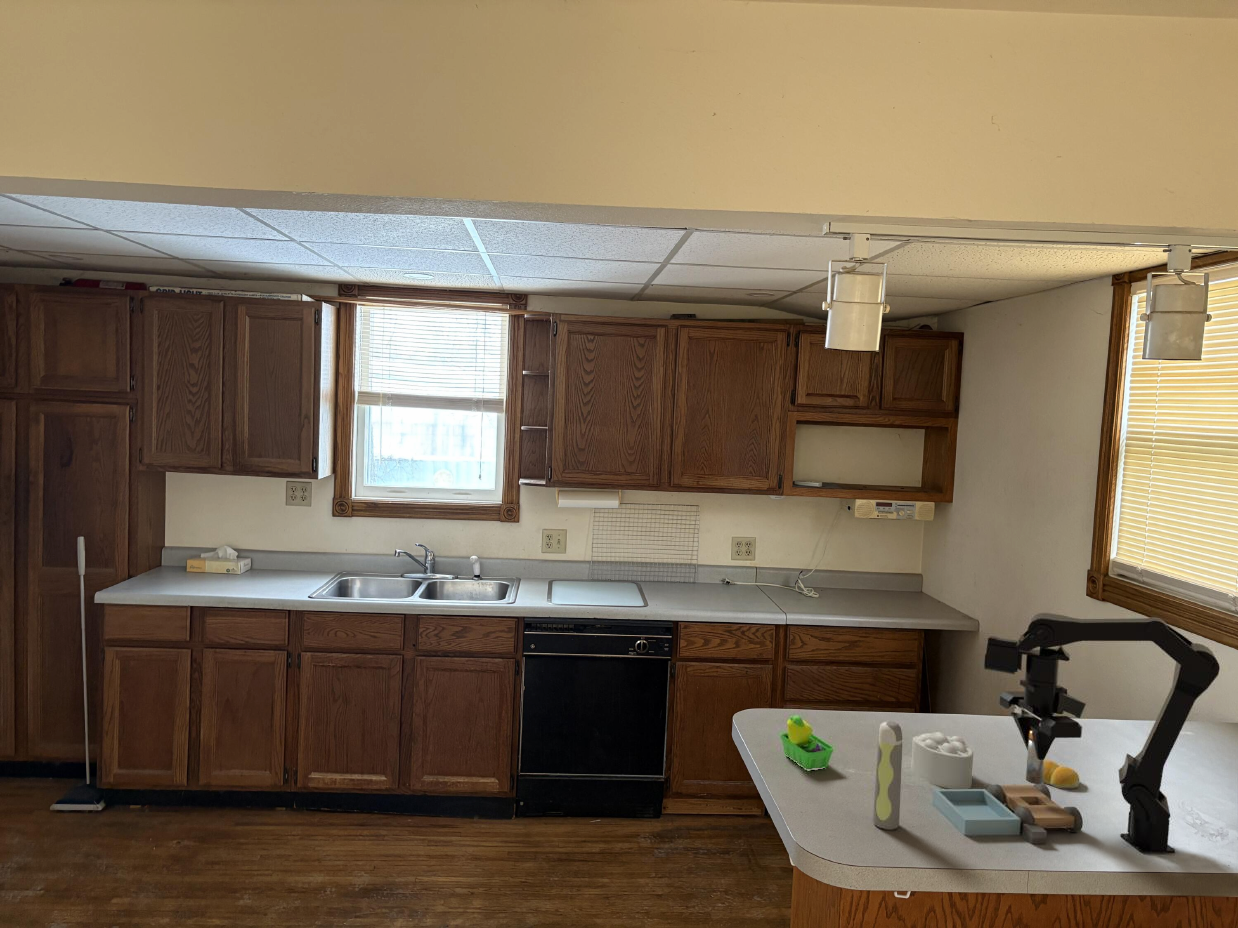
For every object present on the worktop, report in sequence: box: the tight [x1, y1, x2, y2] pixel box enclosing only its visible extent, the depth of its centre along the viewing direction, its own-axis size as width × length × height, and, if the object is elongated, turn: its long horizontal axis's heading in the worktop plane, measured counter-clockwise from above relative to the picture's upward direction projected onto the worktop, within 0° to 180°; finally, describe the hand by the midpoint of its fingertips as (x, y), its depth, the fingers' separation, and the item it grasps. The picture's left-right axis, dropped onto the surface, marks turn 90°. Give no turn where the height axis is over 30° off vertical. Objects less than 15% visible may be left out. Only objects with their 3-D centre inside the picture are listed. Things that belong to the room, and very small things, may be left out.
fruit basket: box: [779, 715, 835, 769], centre depth 191 cm, size 11×9×11 cm
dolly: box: [986, 783, 1084, 845], centre depth 166 cm, size 17×12×4 cm
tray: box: [932, 788, 1021, 836], centre depth 167 cm, size 13×11×3 cm
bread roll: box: [1042, 759, 1080, 790], centre depth 186 cm, size 8×9×4 cm
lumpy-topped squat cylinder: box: [910, 731, 974, 789], centre depth 186 cm, size 10×13×9 cm
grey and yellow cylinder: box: [872, 720, 903, 831], centre depth 162 cm, size 5×5×20 cm
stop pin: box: [1025, 729, 1045, 785], centre depth 167 cm, size 3×3×10 cm
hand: (1035, 755), depth 167 cm, fingers closed on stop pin, 3 cm apart
